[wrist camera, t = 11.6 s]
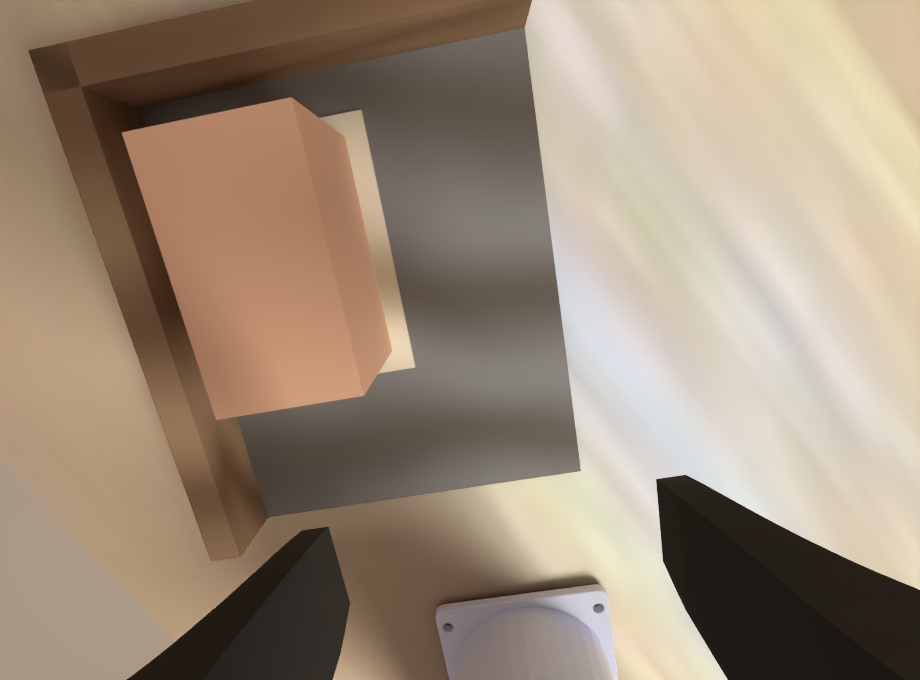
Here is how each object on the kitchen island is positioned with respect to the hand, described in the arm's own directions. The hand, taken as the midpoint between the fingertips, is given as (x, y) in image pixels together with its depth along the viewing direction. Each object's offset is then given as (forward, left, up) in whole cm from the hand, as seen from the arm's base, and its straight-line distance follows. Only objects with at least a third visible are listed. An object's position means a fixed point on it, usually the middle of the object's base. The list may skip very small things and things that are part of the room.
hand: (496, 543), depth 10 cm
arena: (+5, +4, -9) cm, 11 cm away
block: (+7, +6, -9) cm, 12 cm away
